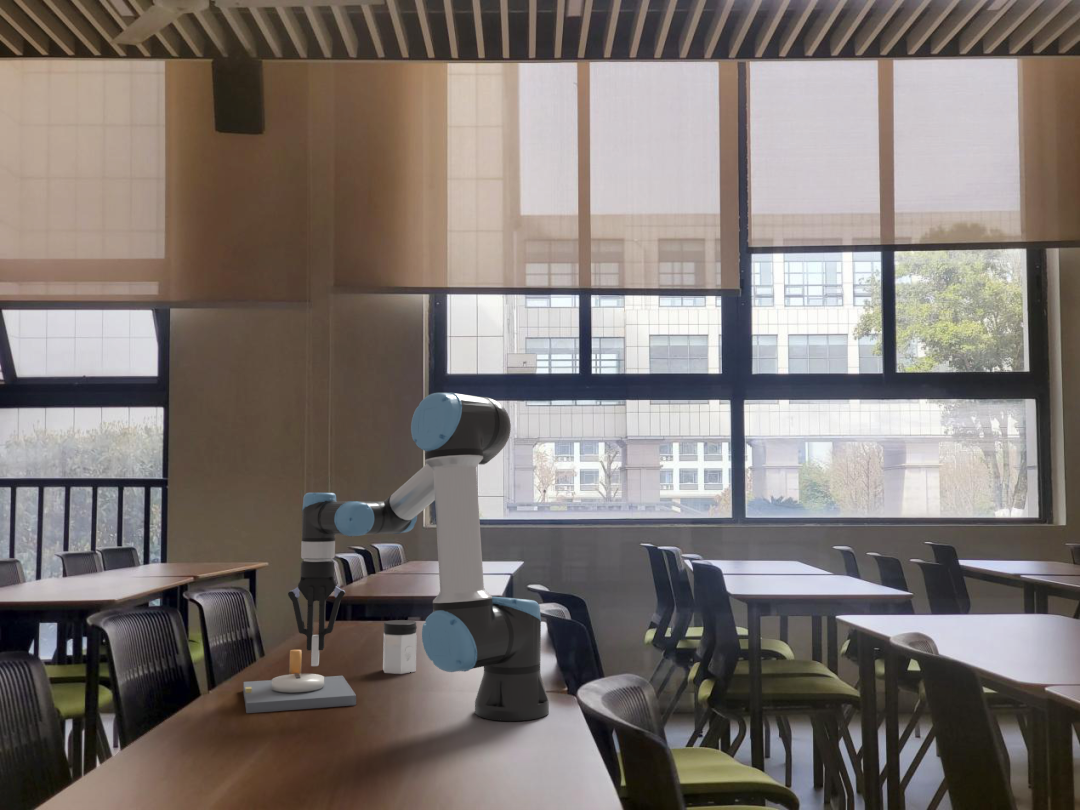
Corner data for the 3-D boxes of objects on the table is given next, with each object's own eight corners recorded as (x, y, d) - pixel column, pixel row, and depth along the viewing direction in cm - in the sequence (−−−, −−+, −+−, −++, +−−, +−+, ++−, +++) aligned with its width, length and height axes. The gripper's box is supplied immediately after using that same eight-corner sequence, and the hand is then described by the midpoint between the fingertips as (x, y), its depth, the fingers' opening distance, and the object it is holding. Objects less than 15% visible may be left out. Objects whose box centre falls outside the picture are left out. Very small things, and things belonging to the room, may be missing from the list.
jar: (393, 675, 223) (394, 625, 224) (375, 670, 229) (376, 622, 230) (423, 670, 229) (424, 622, 230) (404, 666, 235) (405, 618, 236)
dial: (326, 690, 195) (327, 659, 196) (273, 694, 192) (274, 662, 192) (319, 677, 209) (320, 648, 210) (269, 680, 205) (270, 650, 206)
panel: (356, 705, 192) (356, 691, 192) (246, 713, 184) (246, 699, 185) (342, 684, 212) (342, 672, 213) (243, 690, 205) (243, 678, 205)
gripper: (347, 558, 214) (345, 661, 211) (290, 558, 212) (287, 662, 209) (345, 560, 206) (343, 667, 204) (286, 561, 204) (283, 668, 202)
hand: (315, 664), depth 207 cm, fingers closed
